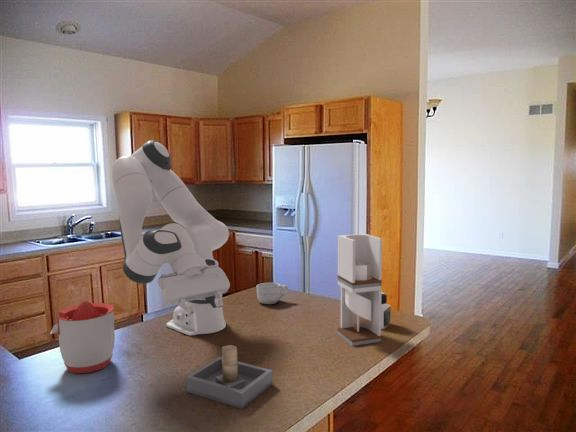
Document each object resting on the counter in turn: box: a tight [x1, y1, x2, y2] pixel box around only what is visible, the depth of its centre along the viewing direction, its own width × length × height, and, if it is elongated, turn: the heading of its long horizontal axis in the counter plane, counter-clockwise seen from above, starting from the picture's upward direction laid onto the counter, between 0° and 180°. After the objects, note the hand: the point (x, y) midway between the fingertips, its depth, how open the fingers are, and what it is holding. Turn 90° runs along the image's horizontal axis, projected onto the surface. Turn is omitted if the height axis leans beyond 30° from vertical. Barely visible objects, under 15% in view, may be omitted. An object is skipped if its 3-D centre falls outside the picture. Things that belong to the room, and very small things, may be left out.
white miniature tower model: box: [337, 233, 383, 347], centre depth 148 cm, size 11×11×35 cm
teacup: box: [256, 282, 290, 305], centre depth 190 cm, size 14×11×8 cm
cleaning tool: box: [215, 344, 246, 389], centre depth 116 cm, size 7×5×10 cm
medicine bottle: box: [381, 291, 391, 330], centre depth 162 cm, size 7×7×12 cm
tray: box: [185, 356, 273, 410], centre depth 116 cm, size 18×14×4 cm
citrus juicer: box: [49, 300, 116, 374], centre depth 129 cm, size 16×17×20 cm
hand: (206, 310), depth 124 cm, fingers open, 8 cm apart
